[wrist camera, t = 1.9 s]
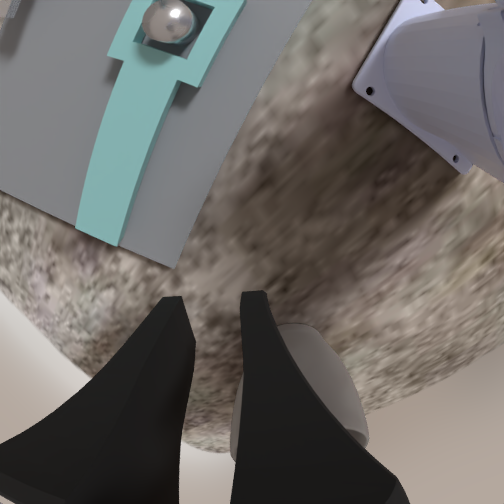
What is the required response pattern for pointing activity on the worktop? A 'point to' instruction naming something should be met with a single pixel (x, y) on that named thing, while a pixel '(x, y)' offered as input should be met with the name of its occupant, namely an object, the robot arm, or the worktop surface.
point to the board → (96, 99)
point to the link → (142, 113)
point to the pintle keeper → (149, 21)
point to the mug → (316, 382)
